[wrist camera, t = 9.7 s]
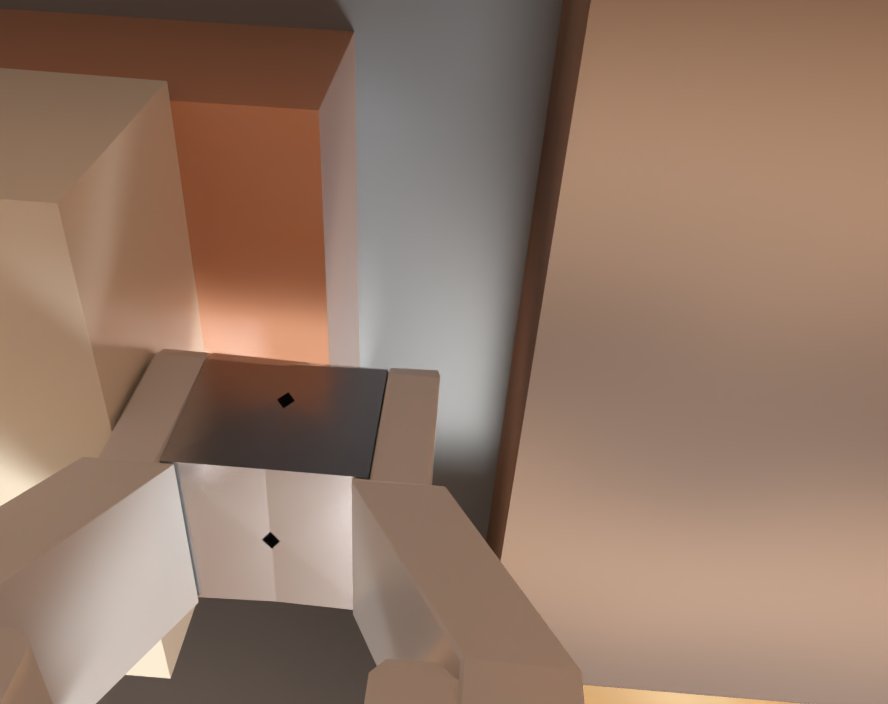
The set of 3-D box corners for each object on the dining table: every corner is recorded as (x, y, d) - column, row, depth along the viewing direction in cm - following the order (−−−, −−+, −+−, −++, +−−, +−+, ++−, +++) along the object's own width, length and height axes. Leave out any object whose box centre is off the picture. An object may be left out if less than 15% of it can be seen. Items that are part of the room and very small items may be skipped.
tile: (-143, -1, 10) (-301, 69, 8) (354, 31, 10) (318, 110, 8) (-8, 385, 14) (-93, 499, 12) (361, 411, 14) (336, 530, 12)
